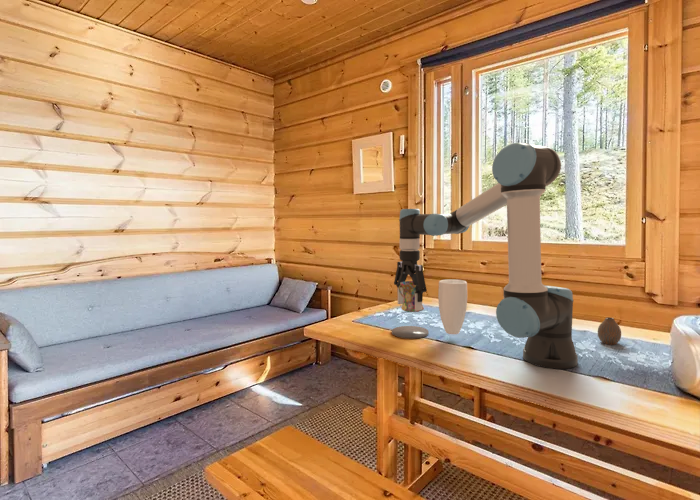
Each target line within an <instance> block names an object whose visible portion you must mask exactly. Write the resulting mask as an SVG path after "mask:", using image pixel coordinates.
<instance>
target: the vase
mask: <svg viewBox="0 0 700 500" xmlns="http://www.w3.org/2000/svg"><path fill="white" fill-rule="evenodd" d="M597 337H598V339H599V341H600V342H601V343H602V344H605V345H611V346H613V345H614V346H615V345H617V344H618V343H619V342H620V341H621V337H622V330H621V328H620V325H619V324H618V323H617V322H616V321H615V318H614V317H605V319H604V320H603V321H602V322H601V323H600V324H599V325H598V328H597Z"/></svg>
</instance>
